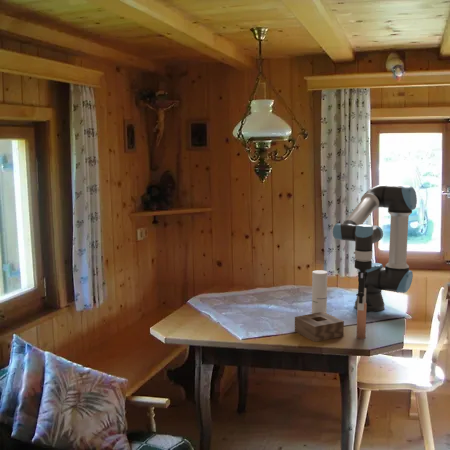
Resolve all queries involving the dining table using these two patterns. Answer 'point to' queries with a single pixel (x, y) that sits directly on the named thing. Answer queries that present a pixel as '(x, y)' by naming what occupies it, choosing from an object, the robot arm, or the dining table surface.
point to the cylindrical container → (319, 291)
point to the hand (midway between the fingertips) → (361, 306)
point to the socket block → (319, 326)
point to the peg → (361, 322)
